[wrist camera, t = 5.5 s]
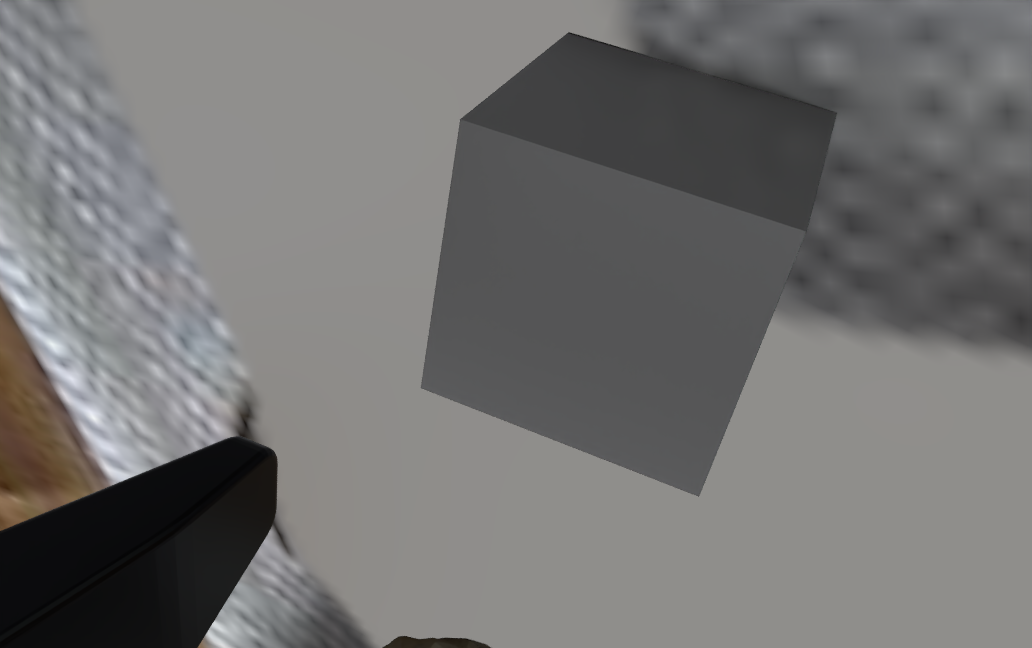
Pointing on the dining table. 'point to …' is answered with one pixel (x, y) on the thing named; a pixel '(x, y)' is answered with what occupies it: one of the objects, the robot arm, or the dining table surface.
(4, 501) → the dining table surface
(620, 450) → the gray cube
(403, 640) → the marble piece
